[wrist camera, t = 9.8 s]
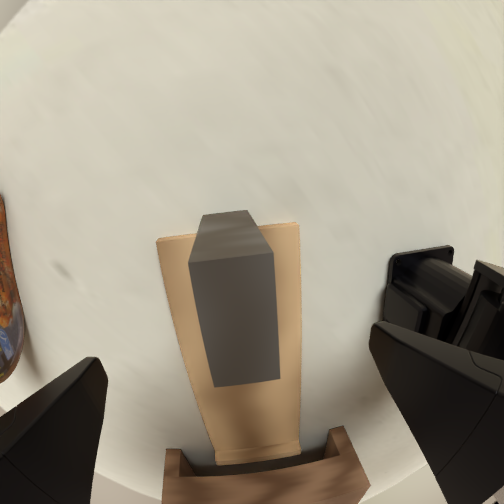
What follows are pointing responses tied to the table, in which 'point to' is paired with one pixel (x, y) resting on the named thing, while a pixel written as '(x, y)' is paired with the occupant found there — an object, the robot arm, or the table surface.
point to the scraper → (240, 331)
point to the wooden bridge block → (273, 480)
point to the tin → (8, 307)
